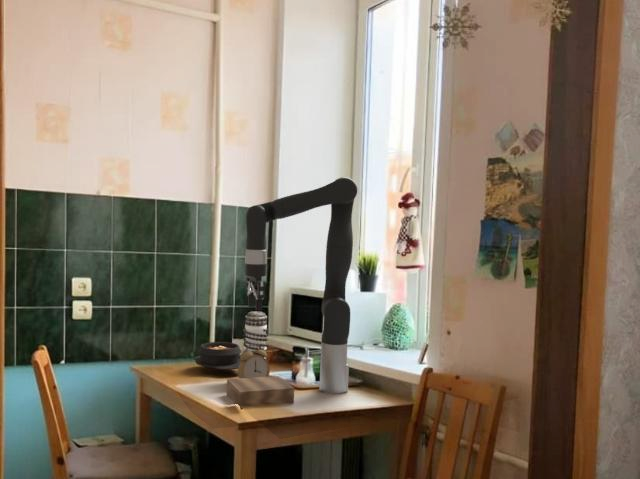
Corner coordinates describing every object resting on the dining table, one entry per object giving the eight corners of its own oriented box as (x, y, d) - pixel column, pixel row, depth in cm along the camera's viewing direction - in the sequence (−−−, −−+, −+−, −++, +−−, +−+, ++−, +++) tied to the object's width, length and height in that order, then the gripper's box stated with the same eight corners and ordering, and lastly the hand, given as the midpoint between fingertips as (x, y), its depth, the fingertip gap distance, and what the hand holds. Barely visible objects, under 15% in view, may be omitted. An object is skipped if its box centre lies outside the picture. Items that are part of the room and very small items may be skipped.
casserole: (257, 370, 264) (257, 348, 263) (215, 376, 252) (216, 354, 251) (222, 357, 283) (223, 337, 282) (182, 363, 271) (183, 342, 270)
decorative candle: (258, 375, 255) (260, 309, 254) (271, 381, 248) (274, 313, 246) (236, 378, 249) (239, 311, 248) (250, 384, 242) (252, 315, 241)
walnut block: (277, 393, 234) (278, 375, 234) (293, 406, 220) (294, 388, 219) (226, 396, 227) (227, 379, 227) (239, 410, 213) (240, 391, 212)
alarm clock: (242, 389, 235) (243, 347, 234) (235, 386, 239) (236, 344, 238) (270, 385, 242) (271, 344, 241) (262, 382, 246) (264, 341, 245)
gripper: (273, 264, 233) (271, 311, 233) (259, 260, 246) (258, 305, 246) (252, 264, 230) (251, 312, 230) (239, 260, 243) (238, 305, 243)
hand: (255, 308), depth 238 cm, fingers open, 8 cm apart
